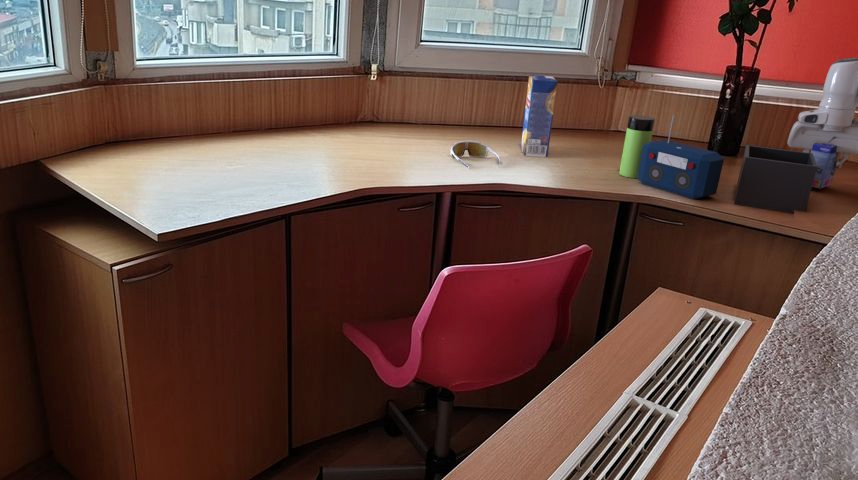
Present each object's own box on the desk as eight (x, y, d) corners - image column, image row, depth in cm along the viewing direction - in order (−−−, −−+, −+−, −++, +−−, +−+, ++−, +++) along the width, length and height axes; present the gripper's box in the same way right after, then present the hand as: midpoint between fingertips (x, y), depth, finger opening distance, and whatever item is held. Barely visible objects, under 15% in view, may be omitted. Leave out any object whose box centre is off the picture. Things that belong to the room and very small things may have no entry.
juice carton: (547, 157, 231) (557, 81, 222) (524, 155, 231) (533, 79, 222) (542, 148, 242) (552, 76, 233) (520, 147, 243) (529, 74, 234)
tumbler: (618, 171, 219) (627, 114, 213) (643, 173, 218) (653, 115, 211) (620, 177, 212) (630, 118, 206) (646, 179, 211) (657, 120, 204)
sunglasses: (484, 154, 229) (487, 140, 227) (504, 173, 217) (507, 158, 214) (443, 156, 225) (445, 141, 222) (461, 175, 213) (464, 159, 210)
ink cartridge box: (821, 189, 202) (835, 138, 197) (800, 185, 206) (813, 135, 200) (833, 183, 208) (846, 134, 203) (813, 179, 212) (825, 131, 207)
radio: (633, 182, 207) (646, 113, 199) (652, 179, 212) (665, 111, 204) (698, 202, 191) (714, 127, 184) (717, 197, 196) (733, 125, 189)
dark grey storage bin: (800, 198, 200) (812, 153, 195) (803, 215, 185) (817, 166, 180) (735, 188, 206) (746, 144, 202) (734, 204, 191) (745, 157, 187)
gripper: (876, 119, 198) (862, 168, 204) (793, 112, 207) (782, 159, 212) (879, 123, 193) (865, 173, 198) (794, 115, 201) (783, 163, 206)
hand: (822, 166), depth 205 cm, fingers closed on ink cartridge box, 6 cm apart
